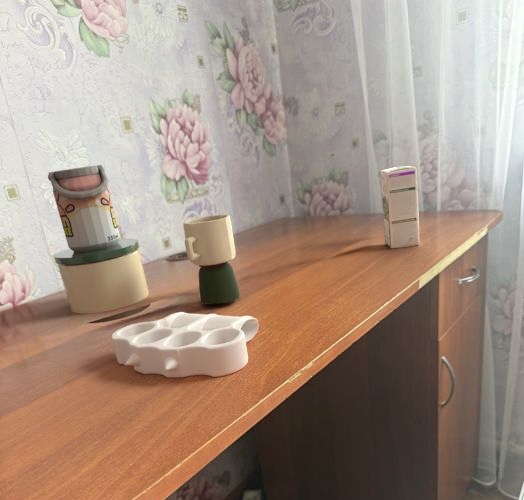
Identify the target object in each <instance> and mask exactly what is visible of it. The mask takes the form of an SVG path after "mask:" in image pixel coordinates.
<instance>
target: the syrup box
mask: <svg viewBox="0 0 524 500" xmlns="http://www.w3.org/2000/svg"><path fill="white" fill-rule="evenodd" d="M380 181H381V182H380V183H381V198H382V199H381V200H382V215H383V217H382V218H383V232H384V244H385V245H387V246H388V247H389V248H390V249H401V248H408V247H415V246H419V245H420V217H419V192H418V169H417V167H416V166H410V165H404V166H403V165H402V166H394V167H390V168H386V169H381V170H380Z"/></svg>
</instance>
